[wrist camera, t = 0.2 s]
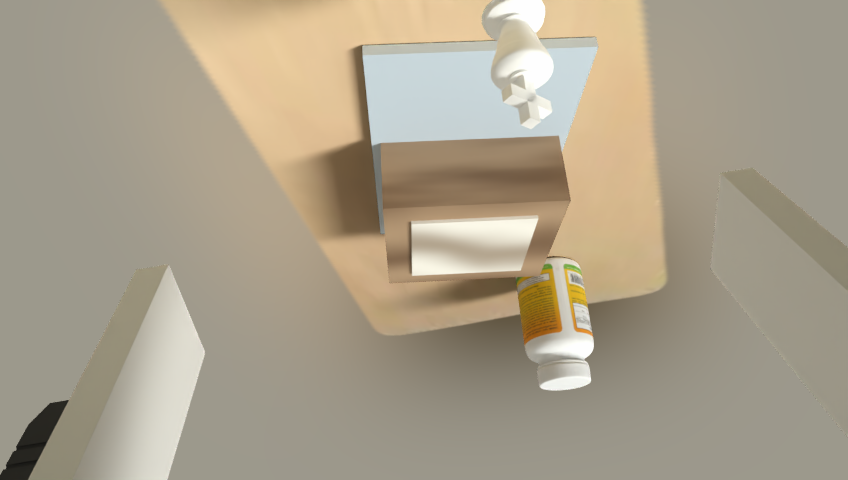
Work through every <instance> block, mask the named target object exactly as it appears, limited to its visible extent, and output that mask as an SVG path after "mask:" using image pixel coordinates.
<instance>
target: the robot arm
mask: <svg viewBox="0 0 848 480" xmlns="http://www.w3.org/2000/svg"><path fill="white" fill-rule="evenodd" d="M718 189H719V190H718V198H717V209H716V218H715V227H714V228H715V229H714V238H713V247H712V257H711V267H710V269H711V271H712V272H713V273H714V274H715V275H716V277H717V278H718V279H719V280H720V282H721V283H722V284H723V285H724V287H725V288H726V289H727V290H728V291H729V293H730V294H731V295H732V296H733V298H734V299H735V300H736V301H737V303H738V304H739V305H740V306H741V307H742V309H743V310H744V311H745V312H746V314H747V315H748V316H749V317H750V318H751V320H752V321H753V322H754V323H755V325H756V326H757V327H758V328H759V329H760V331H761V332H762V333H763V334H764V336H765V337H766V338H767V339H768V340H769V342H770V343H771V344H772V345H773V347H774V348H775V349H776V350H777V351H778V353H779V354H780V355H781V356H782V358H783V359H784V360H785V361H786V363H787V364H788V365H789V366H790V367H791V369H792V370H793V371H794V372H795V374H796V375H797V376H798V377H799V378H800V380H801V381H802V382H803V383H804V385H805V386H806V387H807V388H808V389H809V391H810V392H811V393H812V394H813V396H814V397H815V398H816V399H817V400H818V402H819V403H820V404H821V405H822V407H823V408H824V409H825V410H826V412H827V413H828V414H829V415H830V416H831V418H832V419H833V420H834V421H835V422H836V424H837V425H838V426H839V427H840V429H841V430H842V431H843V432H844V434H845V435H846V436H847V437H848V248H847V246H845V245H844V244H843V243H842V242H841V241H840V240H838V239H837V238H836V237H835V236H834V235H832V234H831V233H830V232H829V231H828V230H826V229H825V228H824V227H823V226H822V225H820V224H819V223H818V222H817V221H816V220H814V219H813V218H812V217H811V216H810V215H808V214H807V213H806V212H805V211H803V209H801V208H800V207H799V206H797V204H795V203H794V202H793V201H792V200H790V199H789V198H788V197H787V196H786V195H784V194H783V193H782V192H781V191H780V190H779V189H777V188H776V187H775V186H774V185H773V184H771V183H770V182H769V181H768V180H767V179H765V178H764V177H763V176H762V175H760V174H759V173H758V172H757V171H756V170H755V169H753V168H747V169H741V170H735V171H728V172H722V173H720V179H719V188H718ZM204 354H205V351H204V349H203V346H202V344H201V341H200V339H199V337H198V334H197V332H196V330H195V327H194V325H193V322H192V320H191V317H190V315H189V313H188V310H187V308H186V305H185V303H184V300H183V298H182V296H181V293H180V291H179V288H178V286H177V284H176V281H175V279H174V276H173V274H172V271H171V269H170V267H169V265H161V266H155V267H149V268H143V269H137V270H136V271H135V273H134V275H133V277H132V279H131V281H130V283H129V285H128V287H127V289H126V291H125V293H124V295H123V297H122V299H121V300H120V302H119V304H118V306H117V308H116V310H115V312H114V314H113V316H112V318H111V320H110V322H109V324H108V326H107V328H106V330H105V332H104V333H103V335H102V337H101V339H100V341H99V343H98V345H97V347H96V349H95V351H94V353H93V355H92V357H91V359H90V360H89V362H88V364H87V366H86V368H85V370H84V372H83V374H82V376H81V378H80V380H79V382H78V384H77V386H76V388H75V390H74V391H73V393H72V395H71V397H70V399H69V400H67V401H61V402H55V403H50V404H49V405H48V406H47V407H46V408H45V409H44V410H43V411H42V412H41V413H40V414H39V415H38V416H37V417H36V418H35V419H34V420H33V421H32V422H31V423H30V424H29V425H28V427H27V428H26V430H25V432H24V434H23V436H22V437H21V439H20V441H19V443H18V444H17V446H16V448H17V450H16V451H14V452H13V453H12V455H11V457H10V459H9V461H8V462H7V464H6V469H5V470H3V471H2V473H1V475H0V480H167V479H168V475H169V472H170V468H171V465H172V462H173V458H174V455H175V452H176V448H177V445H178V442H179V438H180V435H181V432H182V428H183V425H184V421H185V418H186V415H187V411H188V408H189V405H190V402H191V398H192V395H193V392H194V388H195V385H196V381H197V378H198V375H199V371H200V368H201V365H202V361H203V358H204Z"/></svg>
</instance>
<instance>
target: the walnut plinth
mask: <svg viewBox="0 0 848 480" xmlns="http://www.w3.org/2000/svg"><path fill="white" fill-rule="evenodd" d="M381 173H382V202H383V217H384V229H385V240H386V251H387V262H388V273H389V283H406V282H426V281H447V280H467V279H488V278H508V277H529V276H540V273H541V271H542V269H543V266H544V264H545V261H546V259H547V256H548V254H549V252H550V249H551V247H552V244H553V242H554V239H555V237H556V235H557V232H558V230H559V227H560V225H561V223H562V220H563V218H564V215H565V213H566V210H567V208H568V206H569V203H570V201H571V200H570V194H569V189H568V183H567V178H566V172H565V167H564V161H563V156H562V150H561V145H560V139H559V136H539V137H515V138H490V139H466V140H441V141H417V142H393V143H381Z"/></svg>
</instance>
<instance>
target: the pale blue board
mask: <svg viewBox="0 0 848 480" xmlns="http://www.w3.org/2000/svg"><path fill="white" fill-rule="evenodd" d="M539 41H540V42H541V44H542V45H543V46H544V47H545V48H546V50H547V51H548V53H549V54H550V56H551V58H552V60H553V65H554V68H553V73H552V75H551V77H550V78H549V79H548V81H547V82H546V83H545V84H543V85H542V86H540V87H539V88H537V89H535V91H536V95H538V96H540V97H543V98H545V99H547V100H549V101H551V107H552V113H550V114H549V115H548V116H546V117H545V118H544V119H541V118H540V121H541V122H540V123H539V124H537V125H536V126H535V127H533V128H532V129H529V128H527V127H524V126H522V125H521V124H520V118H519V111H518V108H515V107H513V106H511V105H508V104H506V103H504V102H503V99H502V92H501V91H502V90H501V89H499V88H498V87H497V86H496V85H495V84H494V83H493V81H492V79H491V66H492V62H493V59H494V56H495V53H496V50H497V43H498V41H473V42H445V43H417V44H389V45H362V54H363V65H364V75H365V85H366V94H367V104H368V114H369V124H370V134H371V144H372V153H373V163H374V173H375V183H376V193H377V203H378V212H379V222H380V232H381V234H385V229H384V217H383V202H382V173H381V143H393V142H417V141H441V140H466V139H490V138H515V137H539V136H559V139H560V145H561V150H563V148H564V145H565V142H566V139H567V136H568V133H569V130H570V127H571V124H572V121H573V119H574V116H575V113H576V110H577V107H578V104H579V101H580V98H581V95H582V93H583V90H584V87H585V84H586V81H587V78H588V75H589V72H590V69H591V66H592V64H593V61H594V58H595V55H596V52H597V49H598V43H597V39H596V37H585V38H557V39H539Z"/></svg>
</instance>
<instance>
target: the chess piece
mask: <svg viewBox="0 0 848 480" xmlns="http://www.w3.org/2000/svg"><path fill="white" fill-rule="evenodd" d="M544 17H545V6H544V4H543V2H542V1H541V0H492V1H491V2H490V3H489V4H488V5H487V6H486V8H485V9H484V11H483V14H482V25H483V27H484V29H485V31H486V32H487V34H488V35H489V36H490V37H491V38H493V39H494V40H496V41H498V43H497V50H496V53H495V56H494V59H493V62H492V66H491V79H492V81H493V83H494V84H495V85H496V86H497V87H498V88H499V89H501V90H502V91H501V92H502V99H503V102H504V103H506V104H508V105H511V106H513V107H515V108H518V111H519V118H520V124H521V125H522V126H524V127H527V128H529V129H532V128H533V127H535V126H536V125H537V124H539V123H540V122H541V121H540V118H541V119H544V118H545V117H546V116H548V115H549V114H550V113H552V107H551V101H549V100H547V99H545V98H543V97H540V96H538V95H536V91H535V89H537V88H539V87H540V86H542V85H543V84H545V83H546V82H547V81H548V79H549V78H550V77H551V75H552V73H553V68H554V65H553V60H552V58H551V56H550V54H549V53H548V51H547V50H546V48H545V47H544V46H543V45H542V44H541V42H540V41H539V39H538V37H537V35H536V32H537V31H538V30H539V29H540V28H541V26H542V24H543V21H544Z"/></svg>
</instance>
